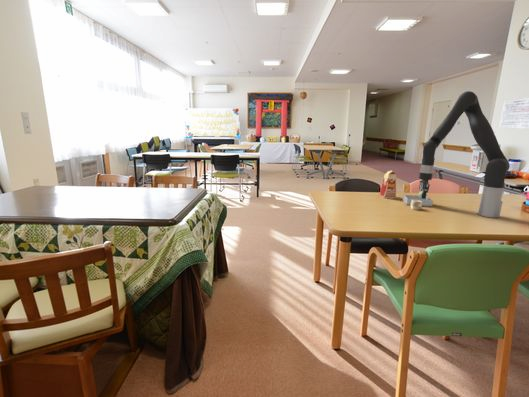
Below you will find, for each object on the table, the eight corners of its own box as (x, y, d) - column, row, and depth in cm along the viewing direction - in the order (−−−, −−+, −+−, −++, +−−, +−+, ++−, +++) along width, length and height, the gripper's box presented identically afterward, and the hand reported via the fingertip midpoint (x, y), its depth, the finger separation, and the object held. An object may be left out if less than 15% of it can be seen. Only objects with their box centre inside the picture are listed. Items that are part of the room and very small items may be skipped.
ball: (425, 197, 196) (426, 190, 195) (427, 199, 191) (428, 192, 190) (417, 197, 197) (418, 189, 196) (418, 198, 192) (420, 191, 191)
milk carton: (396, 198, 208) (400, 170, 203) (383, 198, 208) (387, 170, 204) (391, 195, 217) (394, 168, 212) (378, 195, 217) (382, 168, 212)
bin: (426, 201, 200) (426, 196, 199) (431, 206, 188) (432, 200, 187) (402, 200, 204) (402, 194, 203) (406, 204, 191) (407, 198, 190)
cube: (418, 208, 184) (420, 200, 183) (421, 210, 180) (422, 202, 178) (410, 207, 185) (411, 199, 184) (412, 209, 181) (413, 201, 180)
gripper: (436, 173, 182) (431, 200, 187) (429, 170, 196) (425, 195, 200) (423, 173, 184) (419, 199, 188) (417, 170, 198) (413, 194, 202)
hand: (422, 197), depth 194 cm, fingers closed on ball, 4 cm apart
